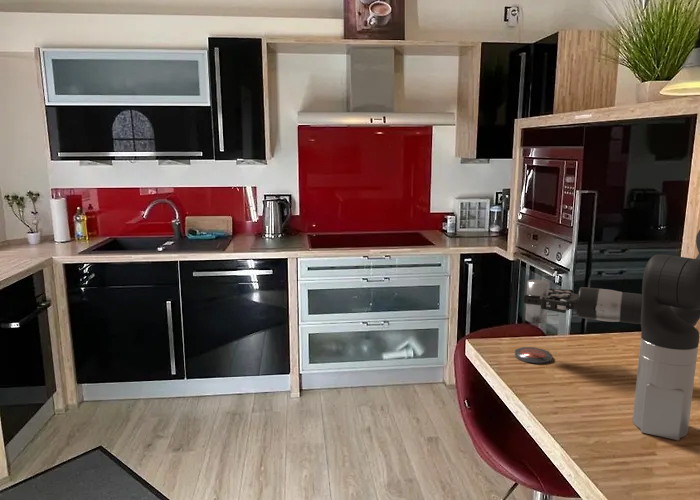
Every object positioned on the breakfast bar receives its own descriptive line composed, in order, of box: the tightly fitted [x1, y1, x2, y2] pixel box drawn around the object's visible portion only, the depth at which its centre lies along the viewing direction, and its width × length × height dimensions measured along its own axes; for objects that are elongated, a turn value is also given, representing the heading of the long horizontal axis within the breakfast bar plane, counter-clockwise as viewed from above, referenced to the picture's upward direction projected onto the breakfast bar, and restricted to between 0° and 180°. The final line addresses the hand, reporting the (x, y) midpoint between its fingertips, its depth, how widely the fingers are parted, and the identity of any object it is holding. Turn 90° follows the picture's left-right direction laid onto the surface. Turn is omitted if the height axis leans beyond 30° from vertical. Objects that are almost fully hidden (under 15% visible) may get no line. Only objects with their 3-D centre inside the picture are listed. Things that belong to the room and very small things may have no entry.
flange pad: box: [514, 346, 553, 365], centre depth 135 cm, size 9×9×1 cm
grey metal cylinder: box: [524, 279, 550, 324], centre depth 133 cm, size 5×5×10 cm
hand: (526, 296), depth 134 cm, fingers closed on grey metal cylinder, 5 cm apart
